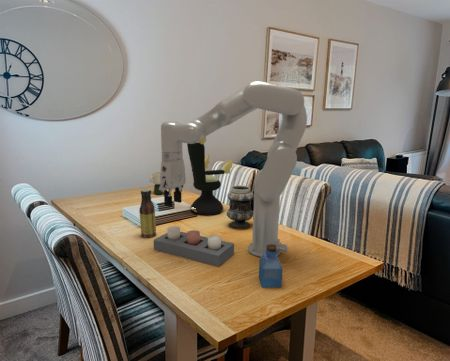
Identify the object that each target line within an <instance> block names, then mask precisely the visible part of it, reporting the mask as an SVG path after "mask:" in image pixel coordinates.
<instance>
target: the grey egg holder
mask: <svg viewBox="0 0 450 361" xmlns="http://www.w3.org/2000/svg"><path fill="white" fill-rule="evenodd" d="M153 250H154V251H156V252H161V253H164V254H168V255H172V256H177V257H181V258H184V259H188V260H191V261H196V262H200V263H203V264H207V265H211V266H215V267H218V268H219V267H220V266H221V265H222V264H223V263H225V262H226V261H227V260H228V259H229V258H230V257H232V256H233V255H234V254H235V243H234V242H229V241H225V240H221V249H219V250H218V251H215V250H211V249H208V237H207V236H202V235H200V243H199V244H198V245H196V246H195V245H190V244H187V232H184V231H180V239H178V240H176V241H174V240H169V239H168V238H167V232H165V233H163V234H162V235H160V236H158V237H156V238H155V239H153Z"/></svg>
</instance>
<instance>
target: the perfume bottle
mask: <svg viewBox="0 0 450 361" xmlns="http://www.w3.org/2000/svg"><path fill="white" fill-rule="evenodd" d="M266 247H267V249H266V254H263V255H262V257H260V258H259V260H258V261H259V262H258V263H259V264H258V265H259V266H258V279H259V283H260V287H261V288H282V285H283V284H282V283H283V267H282V263H281V262H280V259H279V258H278V255H277V250H276V248H277V246H276V245H272V244H269V245H267V246H266Z"/></svg>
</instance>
